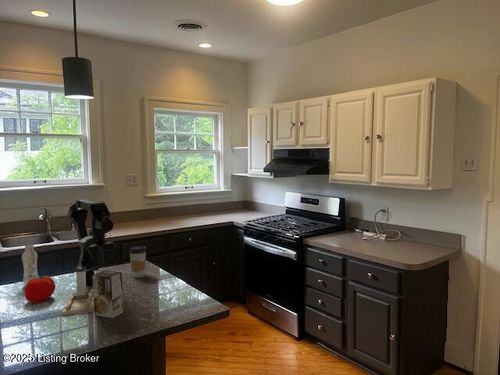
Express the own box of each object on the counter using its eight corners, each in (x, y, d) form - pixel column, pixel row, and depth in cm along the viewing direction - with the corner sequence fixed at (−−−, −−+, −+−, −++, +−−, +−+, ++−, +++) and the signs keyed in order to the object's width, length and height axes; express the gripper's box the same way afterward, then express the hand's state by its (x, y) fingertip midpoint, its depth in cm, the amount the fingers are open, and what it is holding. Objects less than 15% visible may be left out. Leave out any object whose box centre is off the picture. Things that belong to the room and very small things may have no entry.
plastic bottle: (41, 284, 178) (40, 244, 177) (27, 288, 172) (25, 247, 171) (35, 282, 181) (33, 243, 180) (20, 286, 176) (18, 245, 174)
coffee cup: (149, 273, 194) (148, 246, 194) (143, 278, 186) (142, 249, 185) (134, 273, 195) (133, 245, 194) (127, 278, 187) (126, 249, 186)
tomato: (17, 303, 154) (16, 280, 153) (43, 293, 165) (42, 271, 165) (37, 307, 150) (35, 282, 149) (62, 296, 162) (61, 274, 161)
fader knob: (75, 296, 156) (74, 266, 156) (88, 295, 158) (87, 265, 157) (74, 299, 153) (73, 269, 152) (87, 298, 154) (86, 268, 154)
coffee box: (124, 312, 144) (122, 271, 143) (113, 318, 137) (111, 276, 136) (105, 309, 146) (103, 270, 146) (93, 315, 140) (92, 274, 139)
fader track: (69, 298, 159) (69, 291, 159) (97, 295, 162) (96, 288, 162) (61, 315, 141) (61, 307, 141) (92, 311, 144) (92, 304, 144)
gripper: (70, 230, 167) (71, 263, 167) (92, 234, 155) (93, 270, 156) (93, 226, 175) (94, 258, 176) (115, 230, 164) (116, 264, 165)
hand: (99, 262), depth 168 cm, fingers open, 9 cm apart
